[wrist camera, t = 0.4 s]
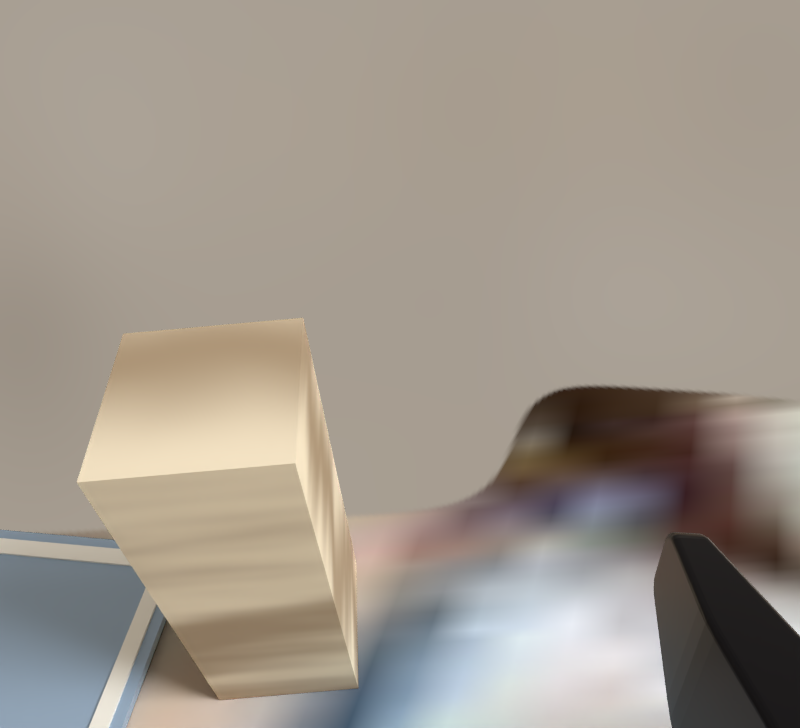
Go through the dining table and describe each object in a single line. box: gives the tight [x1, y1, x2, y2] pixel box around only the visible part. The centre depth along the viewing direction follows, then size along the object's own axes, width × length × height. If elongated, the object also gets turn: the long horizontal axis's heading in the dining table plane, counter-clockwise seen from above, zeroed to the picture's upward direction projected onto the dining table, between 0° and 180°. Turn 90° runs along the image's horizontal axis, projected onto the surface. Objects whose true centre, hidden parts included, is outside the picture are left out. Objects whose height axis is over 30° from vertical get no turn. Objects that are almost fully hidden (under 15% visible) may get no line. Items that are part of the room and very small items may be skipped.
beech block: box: [77, 318, 358, 700], centre depth 21 cm, size 4×4×12 cm
